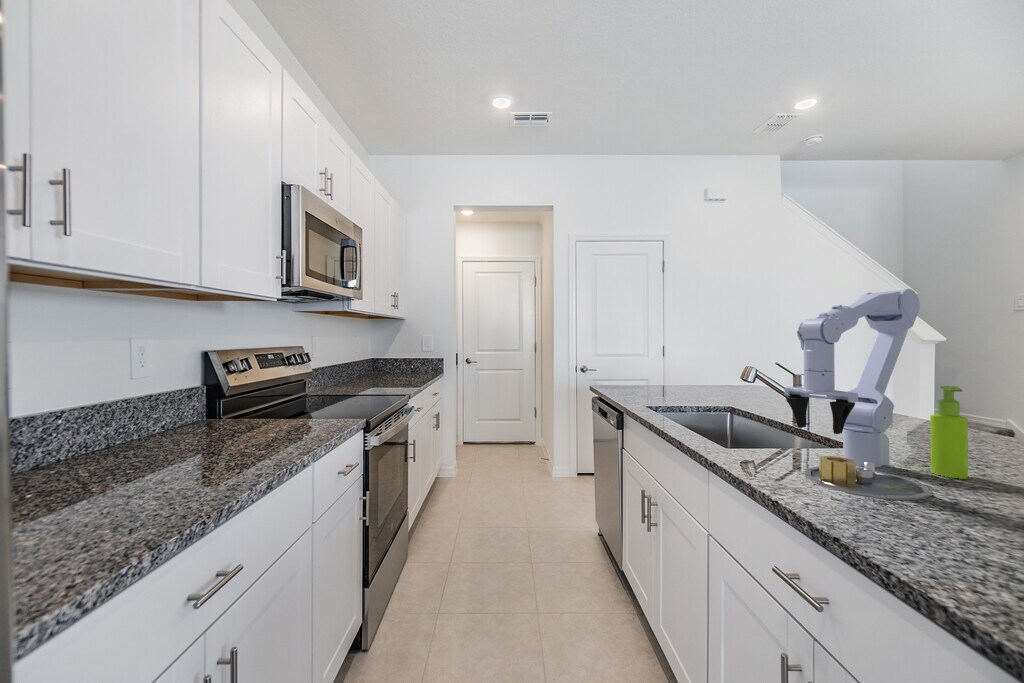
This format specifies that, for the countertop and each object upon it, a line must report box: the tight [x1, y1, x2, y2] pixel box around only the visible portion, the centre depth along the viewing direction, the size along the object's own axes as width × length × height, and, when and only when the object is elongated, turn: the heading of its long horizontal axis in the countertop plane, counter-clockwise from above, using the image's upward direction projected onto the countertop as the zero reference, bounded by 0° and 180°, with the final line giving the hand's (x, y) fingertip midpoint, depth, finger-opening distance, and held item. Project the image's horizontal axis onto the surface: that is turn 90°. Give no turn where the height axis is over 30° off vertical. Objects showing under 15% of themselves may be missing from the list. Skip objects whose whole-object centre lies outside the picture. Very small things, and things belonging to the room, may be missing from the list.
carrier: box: [804, 462, 933, 501], centre depth 89 cm, size 20×20×4 cm
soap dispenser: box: [929, 385, 969, 480], centre depth 96 cm, size 6×7×20 cm
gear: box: [818, 455, 857, 486], centre depth 89 cm, size 6×6×4 cm
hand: (819, 430), depth 98 cm, fingers open, 7 cm apart
